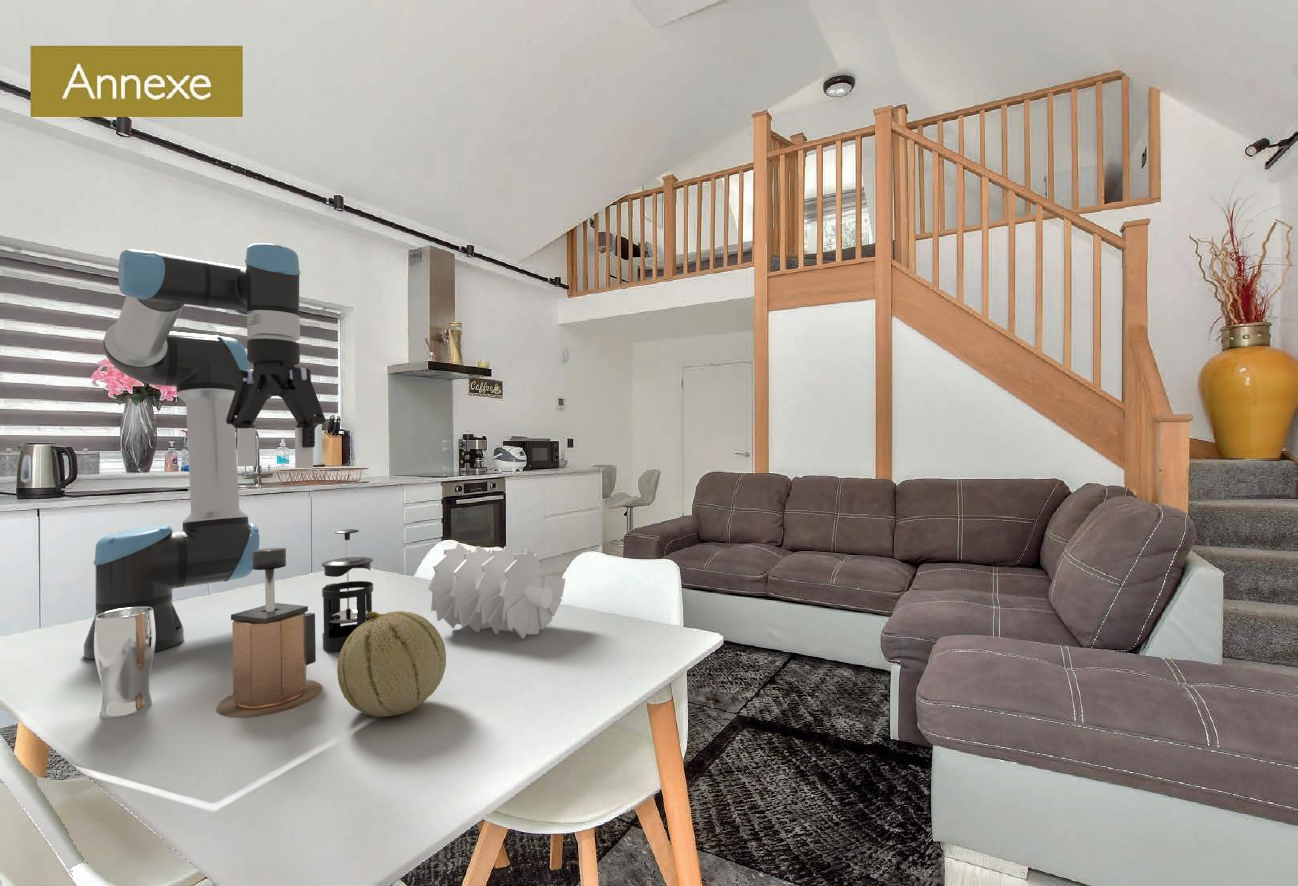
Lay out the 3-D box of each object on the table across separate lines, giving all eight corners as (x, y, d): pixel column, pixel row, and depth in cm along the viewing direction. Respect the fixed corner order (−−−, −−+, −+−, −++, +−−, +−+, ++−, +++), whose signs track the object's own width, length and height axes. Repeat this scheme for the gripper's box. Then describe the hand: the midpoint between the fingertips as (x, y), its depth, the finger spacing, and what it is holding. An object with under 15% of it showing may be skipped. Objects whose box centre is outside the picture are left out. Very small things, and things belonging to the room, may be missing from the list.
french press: (387, 645, 120) (385, 528, 120) (341, 660, 112) (339, 534, 112) (352, 635, 126) (351, 524, 126) (306, 649, 118) (305, 530, 118)
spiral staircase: (532, 664, 120) (434, 642, 129) (575, 605, 134) (483, 589, 144) (510, 589, 112) (407, 573, 122) (558, 535, 126) (462, 524, 136)
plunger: (238, 689, 92) (236, 552, 92) (275, 675, 98) (273, 546, 98) (267, 694, 90) (265, 554, 90) (302, 679, 96) (300, 547, 96)
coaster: (193, 713, 90) (193, 709, 90) (279, 678, 103) (279, 675, 103) (261, 727, 85) (261, 723, 85) (343, 689, 98) (343, 685, 98)
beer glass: (105, 727, 86) (103, 621, 86) (87, 716, 89) (86, 614, 89) (164, 709, 92) (163, 609, 92) (145, 699, 95) (144, 603, 95)
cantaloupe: (457, 718, 87) (455, 613, 87) (343, 746, 79) (341, 631, 79) (433, 684, 100) (432, 592, 100) (333, 705, 92) (331, 606, 92)
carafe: (220, 705, 91) (219, 616, 91) (292, 676, 103) (291, 596, 103) (265, 713, 88) (263, 621, 88) (333, 682, 99) (332, 600, 99)
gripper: (200, 341, 103) (201, 466, 103) (308, 332, 94) (309, 470, 94) (244, 346, 110) (245, 464, 110) (348, 339, 101) (349, 467, 101)
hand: (274, 467), depth 102 cm, fingers open, 13 cm apart
